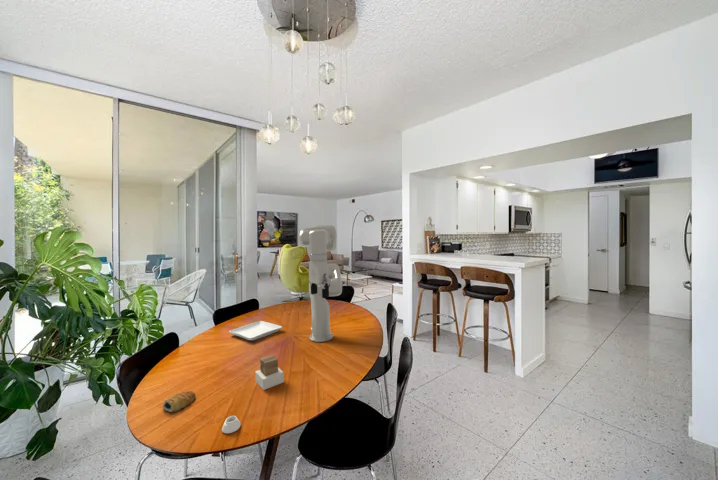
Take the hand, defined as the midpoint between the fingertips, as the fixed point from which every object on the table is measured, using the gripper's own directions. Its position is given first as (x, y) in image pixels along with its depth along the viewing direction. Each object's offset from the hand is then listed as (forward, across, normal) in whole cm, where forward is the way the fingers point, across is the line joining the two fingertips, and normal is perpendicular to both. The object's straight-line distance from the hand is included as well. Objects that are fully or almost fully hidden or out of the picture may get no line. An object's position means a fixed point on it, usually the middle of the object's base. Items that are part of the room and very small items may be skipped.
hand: (319, 295), depth 128 cm
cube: (+24, +4, -26) cm, 36 cm away
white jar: (+29, +21, -45) cm, 57 cm away
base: (+28, +4, -26) cm, 39 cm away
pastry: (+29, -3, -55) cm, 62 cm away
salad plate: (+29, -51, -12) cm, 60 cm away
